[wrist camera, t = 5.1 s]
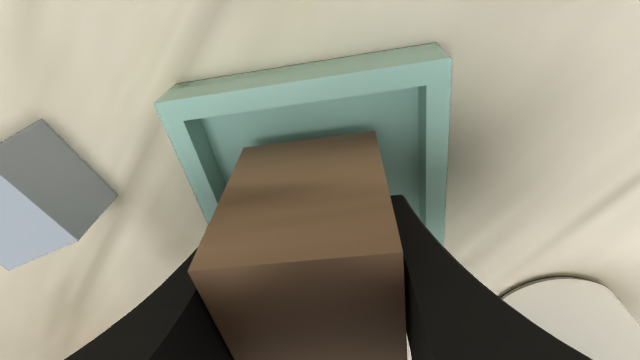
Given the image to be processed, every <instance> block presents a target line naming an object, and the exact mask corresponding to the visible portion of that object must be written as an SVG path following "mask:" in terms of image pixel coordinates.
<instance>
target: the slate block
mask: <svg viewBox="0 0 640 360" xmlns="http://www.w3.org/2000/svg"><path fill="white" fill-rule="evenodd" d="M117 196H118V194H117V193H116V192H115V191H114V190H113V189H112V188H111V187H110V186H109V185H108V184H107V183H106V182H105V181H104V180H103V179H102V178H101V177H100V176H99V175H98V174H97V173H96V172H95V171H94V170H93V169H92V168H91V167H90V166H89V165H88V164H87V163H86V162H85V161H84V160H83V159H82V158H81V157H80V156H79V155H78V154H77V153H76V152H75V151H74V150H73V149H72V148H71V147H70V146H69V145H68V144H67V143H66V142H65V141H64V140H63V139H62V138H61V137H60V136H59V135H58V134H57V133H56V132H55V131H54V130H53V129H52V128H51V127H50V126H49V125H48V124H47V123H46V122H45V121H44V120H43V119H40V120H38V121H37V122H35V123H33V124H32V125H30V126H28V127H27V128H25V129H23V130H21V131H20V132H18V133H16V134H15V135H13V136H11V137H10V138H8V139H6V140H4V141H3V142H1V143H0V265H1V266H2V267H4V268H5V269H7V270H8V271H10V270H12V269H14V268H16V267H19V266H21V265H23V264H26V263H28V262H30V261H33V260H35V259H37V258H40V257H42V256H44V255H46V254H49V253H51V252H53V251H56V250H58V249H60V248H63V247H65V246H67V245H70V244H72V243H74V242H77V241H78V240H79V239H80V238H81V237H82V236H83V235H84V233H85V232H86V231H87V230H88V229H89V228H90V227H91V225H92V224H93V223H94V222H95V221H96V220H97V219H98V217H99V216H100V215H101V214H102V213H103V212H104V211H105V209H106V208H107V207H108V206H109V205H110V204H111V203H112V201H113V200H114V199H115V198H116V197H117Z"/></svg>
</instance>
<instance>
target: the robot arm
mask: <svg viewBox="0 0 640 360" xmlns="http://www.w3.org/2000/svg"><path fill="white" fill-rule="evenodd" d="M390 197H391V202H392V206H393V210H394V215H395V219H396V223H397V228H398V232H399V236H400V241H401V245H402V249H403V261H404V287H405V314H406V333H407V337H408V341H409V346H410V350H411V356H412V360H593V359H591V358H589V357H588V356H586V355H584V354H582V353H581V352H579V351H577V350H576V349H574V348H572V347H571V346H569V345H567V344H565V343H564V342H562V341H560V340H559V339H557V338H556V337H554V336H553V335H551V334H550V333H548V332H547V331H545V330H544V329H542V328H541V327H539V326H538V325H536V324H535V323H533V322H532V321H530V320H529V319H528V318H526V317H525V316H524V315H522V314H521V313H520V312H518V311H517V310H515V309H514V308H513V307H511V306H510V305H509V304H507V303H506V302H505V301H503V300H502V299H500V298H499V297H498V296H497V295H495V294H494V293H493V292H492V291H491V290H489V289H488V288H487V287H486V286H484V285H483V284H482V283H481V282H480V281H479V280H477V279H476V278H475V277H474V276H473V275H472V274H471V273H470V272H468V271H467V270H466V269H465V268H464V267H463V266H462V265H461V264H460V263H459V262H458V261H457V260H456V259H455V258H454V257H453V256H452V255H451V254H450V253H449V252H448V251H447V250H446V249H445V248H444V247H443V246H442V245H441V244H440V242H439V241H438V240H437V239H436V238H435V237H434V236H433V234H432V233H431V232H430V231H429V230H428V229H427V227H426V226H425V225H424V224H423V222H422V221H421V220H420V218H419V217H418V216H417V214H416V213H415V212H414V210H413V209H412V207H411V206H410V204H409V203H408V201H407V200H406V198H405V197H404V196H403V195H402V194H401V195H391V196H390ZM197 249H198V248H197ZM197 249H196V250H195V251H194V252H193V253H192V254H191V255H190V257H189V258H188V259H187V260H186V261H185V262H184V263H183V264H182V265H181V266H180V267H179V268H178V269H177V270H176V271H175V272H174V273H173V274H172V275H171V276H170V277H169V278H168V279H167V280H166V281H165V282H164V283H163V284H162V285H161V286H159V287H158V288H157V289H156V290H155V291H154V292H153V293H152V294H151V295H150V296H148V297H147V298H146V299H145V300H144V301H143V302H141V303H140V304H139V305H138V306H137V307H136V308H134V309H133V310H132V311H131V312H129V313H128V314H127V315H126V316H124V317H123V318H122V319H120V320H119V321H118V322H116V323H115V324H114V325H112V326H111V327H110V328H109V329H107V330H106V331H105V332H103V333H102V334H101V335H99V336H98V337H97V338H95V339H94V340H92V341H91V342H89V343H88V344H87V345H85V346H84V347H82V348H81V349H79V350H78V351H76V352H75V353H73V354H72V355H70V356H69V357H67V358H66V359H64V360H234V358H233V356H232V354H231V352H230V350H229V348H228V346H227V345H226V343H225V341H224V339H223V337H222V335H221V333H220V331H219V330H218V328H217V326H216V324H215V322H214V320H213V318H212V316H211V314H210V313H209V311H208V309H207V307H206V305H205V303H204V301H203V299H202V298H201V296H200V294H199V292H198V290H197V288H196V286H195V284H194V283H193V281H192V279H191V277H190V275H189V273H188V269H189V267H190V265H191V262H192V260H193V258H194V256H195V253H196V251H197Z"/></svg>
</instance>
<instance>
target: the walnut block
mask: <svg viewBox="0 0 640 360" xmlns="http://www.w3.org/2000/svg"><path fill="white" fill-rule="evenodd" d="M188 273H189V275H190V277H191V279H192V281H193V283H194V284H195V286H196V288H197V290H198V292H199V294H200V296H201V298H202V299H203V301H204V303H205V305H206V307H207V309H208V311H209V313H210V314H211V316H212V318H213V320H214V322H215V324H216V326H217V328H218V330H219V331H220V333H221V335H222V337H223V339H224V341H225V343H226V345H227V346H228V348H229V350H230V352H231V354H232V356H233V358H234V360H407V340H406V314H405V287H404V261H403V249H402V245H401V241H400V236H399V232H398V228H397V223H396V219H395V215H394V210H393V206H392V202H391V197H390V193H389V188H388V184H387V180H386V175H385V171H384V167H383V162H382V158H381V154H380V149H379V145H378V141H377V136H376V132H375V131H369V132H361V133H353V134H346V135H338V136H330V137H322V138H315V139H307V140H299V141H291V142H283V143H276V144H268V145H260V146H252V147H245V148H243V150H242V152H241V154H240V156H239V159H238V161H237V163H236V165H235V167H234V170H233V172H232V174H231V176H230V179H229V181H228V183H227V185H226V187H225V190H224V192H223V194H222V196H221V198H220V201H219V203H218V205H217V207H216V209H215V212H214V214H213V216H212V218H211V220H210V223H209V225H208V227H207V229H206V231H205V234H204V236H203V238H202V240H201V242H200V245H199V247H198V249H197V251H196V253H195V256H194V258H193V260H192V262H191V265H190V267H189V269H188Z"/></svg>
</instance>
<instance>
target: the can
mask: <svg viewBox="0 0 640 360" xmlns="http://www.w3.org/2000/svg"><path fill="white" fill-rule="evenodd" d="M500 299H502V300H503V301H505V302H506V303H507V304H509V305H510V306H511V307H513V308H514V309H515V310H517V311H518V312H520V313H521V314H522V315H524V316H525V317H526V318H528V319H529V320H530V321H532V322H533V323H535V324H536V325H538V326H539V327H541V328H542V329H544V330H545V331H547V332H548V333H550V334H551V335H553V336H554V337H556V338H557V339H559V340H560V341H562V342H564V343H565V344H567V345H569V346H571V347H572V348H574V349H576V350H577V351H579V352H581V353H582V354H584V355H586V356H588V357H589V358H591V359H593V360H640V325H639V324H638V323H637V322H636V320H635V319H634V318H633V317H632V316H631V314H630V313H629V312H628V311H627V309H626V308H625V307H624V306H623V304H622V303H621V302H620V301H619V300H618V298H617V297H616V296H615V295H614V294H613V293H612V292H611V291H610V290H609V289H608V288H607V287H605V286H603V285H601V284H598V283H595V282H591V281H588V280H585V279H580V278H574V277H551V278H544V279H540V280H536V281H532V282H529V283H526V284H524V285H521V286H519V287H517V288H515V289H513V290H511V291H510V292H508V293H507V294H505V295H504V296H502V297H501V298H500Z"/></svg>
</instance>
